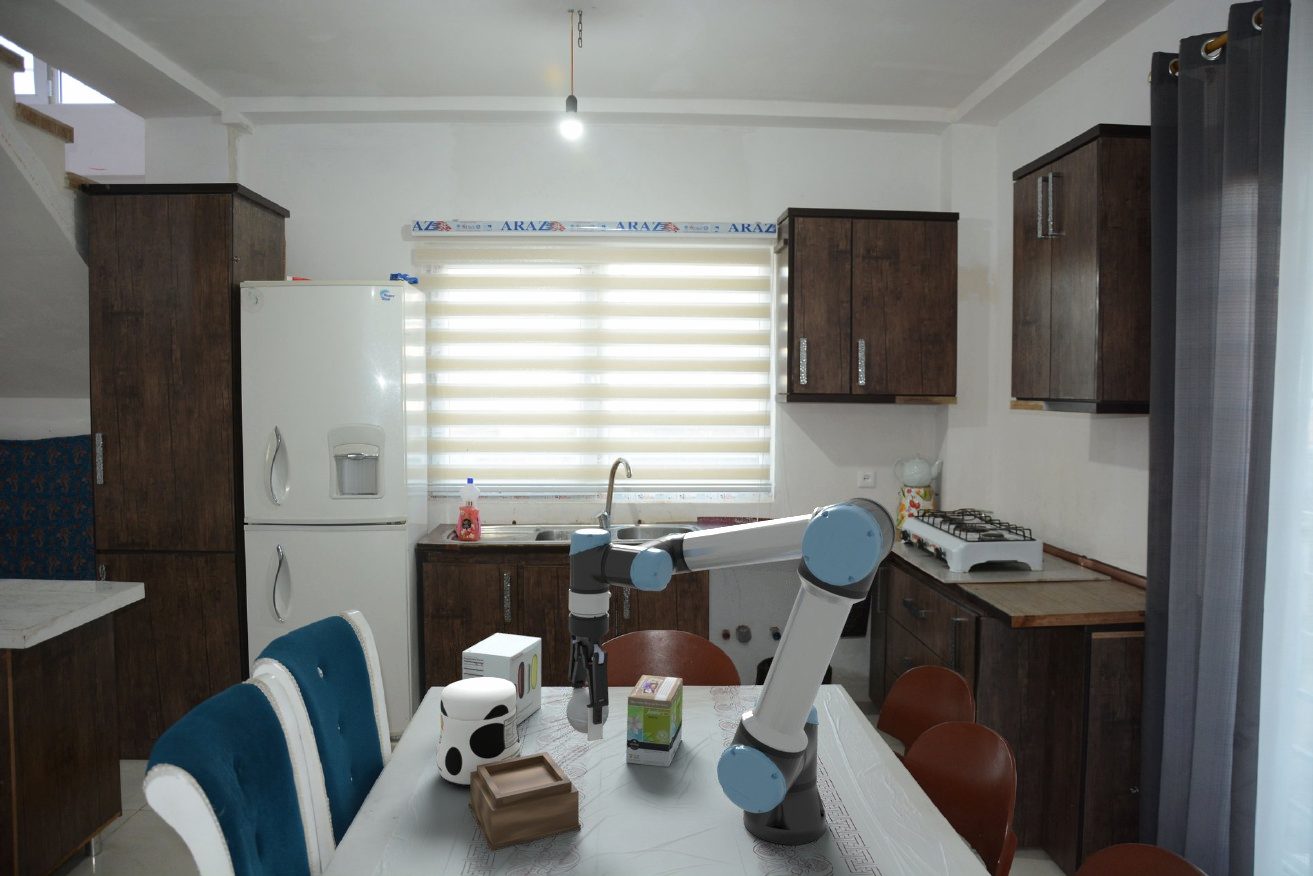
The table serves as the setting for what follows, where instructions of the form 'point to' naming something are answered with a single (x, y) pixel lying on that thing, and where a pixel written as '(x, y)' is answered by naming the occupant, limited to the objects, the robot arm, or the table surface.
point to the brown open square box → (523, 800)
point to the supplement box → (509, 667)
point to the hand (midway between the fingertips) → (586, 730)
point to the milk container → (476, 727)
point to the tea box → (654, 720)
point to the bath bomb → (581, 711)
